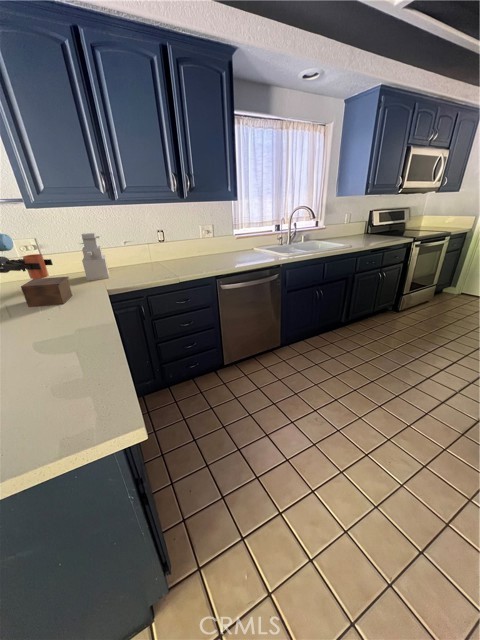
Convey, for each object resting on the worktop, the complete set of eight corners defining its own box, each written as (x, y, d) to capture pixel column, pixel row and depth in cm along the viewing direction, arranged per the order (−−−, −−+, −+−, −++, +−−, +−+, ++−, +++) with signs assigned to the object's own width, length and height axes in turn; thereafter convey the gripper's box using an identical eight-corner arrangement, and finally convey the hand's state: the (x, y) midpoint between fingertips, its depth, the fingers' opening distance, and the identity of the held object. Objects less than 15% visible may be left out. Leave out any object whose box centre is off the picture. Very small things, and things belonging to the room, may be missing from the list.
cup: (29, 279, 122) (21, 258, 118) (31, 276, 128) (24, 255, 124) (48, 277, 125) (41, 256, 121) (49, 274, 131) (43, 253, 127)
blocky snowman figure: (109, 271, 191) (100, 231, 180) (108, 280, 172) (98, 235, 160) (89, 273, 187) (78, 232, 175) (86, 282, 167) (74, 236, 155)
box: (72, 295, 145) (67, 278, 140) (63, 304, 133) (57, 285, 128) (40, 298, 141) (34, 280, 137) (28, 307, 129) (21, 288, 125)
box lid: (69, 277, 141) (68, 276, 140) (59, 285, 129) (59, 283, 128) (34, 280, 137) (33, 278, 137) (21, 288, 125) (20, 286, 125)
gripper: (16, 267, 135) (61, 266, 135) (-19, 278, 116) (33, 277, 117) (10, 252, 132) (56, 252, 132) (-26, 261, 113) (27, 260, 113)
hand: (45, 264), depth 124 cm, fingers closed on cup, 7 cm apart
